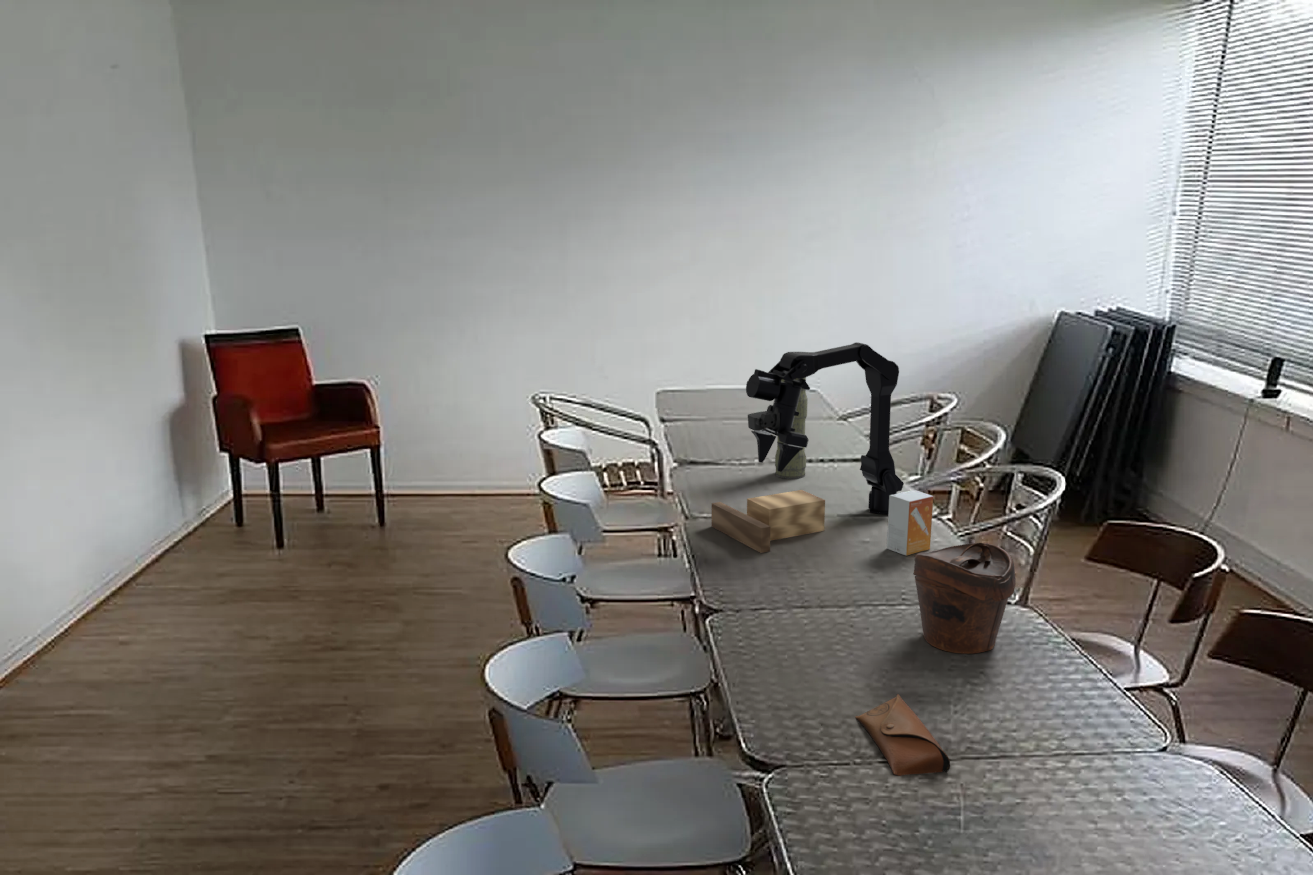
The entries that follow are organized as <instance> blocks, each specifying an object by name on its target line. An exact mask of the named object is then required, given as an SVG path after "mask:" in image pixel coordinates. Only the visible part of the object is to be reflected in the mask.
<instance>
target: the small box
mask: <svg viewBox="0 0 1313 875" xmlns="http://www.w3.org/2000/svg"><path fill="white" fill-rule="evenodd" d="M933 507H934V496H933V495H931V494H927V493H925V492H922V491H919V490H916V489H911V490H908V491H900V492H897V494H894V495H890V496H889V513H888V514H887V515H888V516H887V517H888V520H887V535H886V536H887V538H886V549H887V550H890V551H893V552H895V553H898V554H900V555H903V556H906V557H907V556H909V555H913V554H918V553H922V552H925V551H929V550H931V541H932V540H931V538H932V524H933V523H932V522H933Z"/></svg>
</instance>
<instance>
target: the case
mask: <svg viewBox="0 0 1313 875" xmlns="http://www.w3.org/2000/svg"><path fill="white" fill-rule="evenodd" d="M912 575H913V576H914V581H915V587H916V592H917V594H916V595H917V600H918V607H919V612H920V619H921V620H920V622H921V627H922V634H923V638H924V640H925V641H926V642H927V643H928V644H929V645H930V646H933V647H934V648H936V649H939V650H941V651H945V652H948V653H954V654H963V655H964V654H965V655H966V654H967V655H968V654H969V655H971V654H978V653H979V654H980V653H984V652H989V651H991V650H992V649H994V646H996V641H997V638H998V633H999V630H1000V628H1001V625H1002V620H1003V617H1004V613H1005V611H1006V607H1007V604H1008V600H1009V598H1011V597H1012V596H1013V594H1014V593H1015V589H1016V583H1017V581H1016V572H1015V562H1014V560H1013V558H1012V556H1011V555H1010V553H1009V552H1008V551H1006V550H1005V549H1003V548H1002V547H1000V546H998V545H995V544H991V543H988V542H975V543H974V542H973V543H972V542H971V543H964V544H958V545H952V546H948V547H944V548H940V549H934V550H931V551H926V552H925V551H921V552H917V553H915V555H914V567H913V574H912Z"/></svg>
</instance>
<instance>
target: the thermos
mask: <svg viewBox="0 0 1313 875" xmlns="http://www.w3.org/2000/svg"><path fill="white" fill-rule="evenodd" d="M803 379H805V380H806V381H807V377H806V378H803ZM795 380H799V379H798V378H797V379H795ZM784 381H785V380H781V382H784ZM806 392H807V391H806V389H801V393H800V397H799V401H798V405H797V409H796V411H797V412H799V416H795V417H794V421H793V425H792V428H795V432H798V433H801V434H804V435H806V419H807V417H808V395H807V393H806ZM776 440H777V441H776V443H777V442H780V441H779V437H778V436H776ZM780 443H782V442H780ZM802 448H803V450H800V451H799V452H798V453H797V454H796V455H795V456H794V457H793V459H792V460H791V461H790V462H789V463H788V465H787V466H786V467H785V468H784V469H783V471H782V472H779V471H777V467H778V460H779V454H780V448H779V446H778V444H777V447H776V452H775V457H774V467H775V476H776V477H778V478H781V479H786V480H787V479H788V480H795V479H796V480H797V479H801V478H804V477H805V476H806V467H807V454H806V452H805V451H806V450H805V448H806V447H802Z"/></svg>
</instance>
